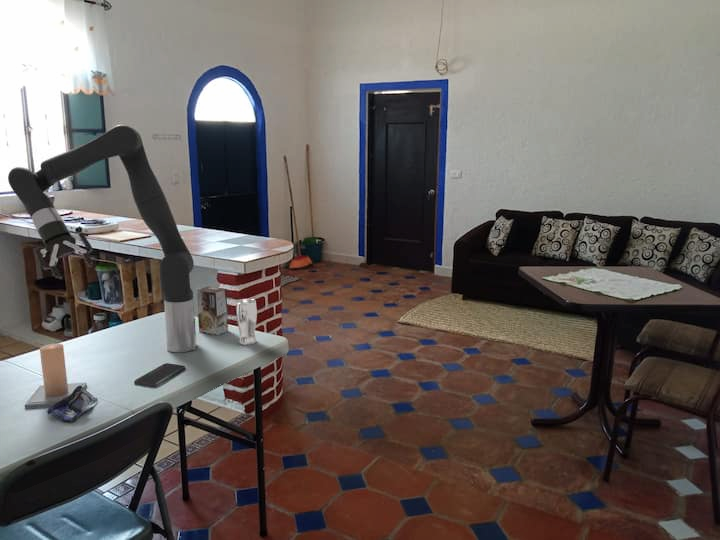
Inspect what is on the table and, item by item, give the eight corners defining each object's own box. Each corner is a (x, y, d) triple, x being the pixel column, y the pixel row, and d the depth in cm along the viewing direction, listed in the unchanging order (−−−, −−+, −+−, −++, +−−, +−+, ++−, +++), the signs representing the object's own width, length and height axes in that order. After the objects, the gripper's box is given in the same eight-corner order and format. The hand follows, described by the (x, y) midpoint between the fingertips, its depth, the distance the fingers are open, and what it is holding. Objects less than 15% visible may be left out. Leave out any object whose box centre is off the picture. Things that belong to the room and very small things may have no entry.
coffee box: (229, 330, 205) (227, 288, 202) (217, 335, 199) (216, 292, 196) (209, 327, 209) (207, 285, 205) (198, 331, 203) (195, 289, 200)
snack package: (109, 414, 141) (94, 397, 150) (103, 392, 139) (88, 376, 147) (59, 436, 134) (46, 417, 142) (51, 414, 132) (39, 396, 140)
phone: (187, 366, 170) (155, 385, 156) (187, 369, 170) (155, 389, 156) (165, 362, 172) (132, 381, 158) (165, 366, 172) (132, 385, 158)
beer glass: (259, 339, 197) (258, 298, 193) (254, 346, 190) (253, 304, 186) (240, 338, 197) (239, 298, 194) (234, 345, 190) (233, 303, 187)
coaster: (86, 385, 156) (86, 381, 156) (75, 404, 145) (74, 400, 145) (40, 389, 154) (39, 385, 154) (24, 408, 142) (24, 404, 142)
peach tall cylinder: (68, 386, 153) (63, 342, 150) (68, 394, 148) (63, 349, 145) (45, 390, 150) (40, 345, 148) (44, 398, 146) (39, 352, 143)
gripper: (23, 230, 158) (48, 277, 156) (73, 212, 165) (98, 257, 163) (27, 240, 165) (52, 286, 163) (76, 222, 171) (100, 266, 169)
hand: (75, 271), depth 163 cm, fingers open, 8 cm apart
